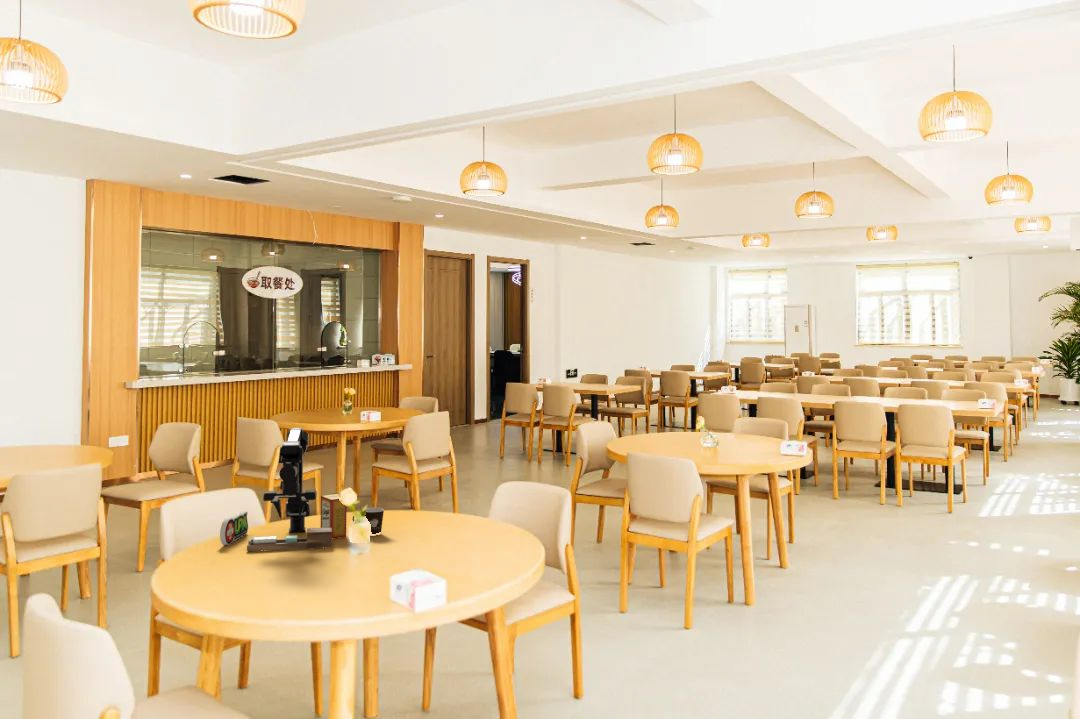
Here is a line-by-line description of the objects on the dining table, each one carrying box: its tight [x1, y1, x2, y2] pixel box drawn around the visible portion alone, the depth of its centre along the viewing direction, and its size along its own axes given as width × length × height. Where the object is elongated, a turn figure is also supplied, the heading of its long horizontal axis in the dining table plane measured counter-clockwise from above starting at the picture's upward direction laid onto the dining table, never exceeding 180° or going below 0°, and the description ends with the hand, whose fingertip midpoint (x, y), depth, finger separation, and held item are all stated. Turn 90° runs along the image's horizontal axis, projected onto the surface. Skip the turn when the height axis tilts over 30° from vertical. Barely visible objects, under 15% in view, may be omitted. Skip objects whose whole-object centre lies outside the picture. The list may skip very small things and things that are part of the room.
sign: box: [219, 511, 249, 546], centre depth 302 cm, size 22×2×10 cm, turn 179°
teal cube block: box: [285, 535, 299, 543], centre depth 293 cm, size 4×4×4 cm
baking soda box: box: [320, 493, 348, 539], centre depth 312 cm, size 10×6×16 cm
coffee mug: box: [352, 507, 385, 534], centre depth 315 cm, size 12×9×10 cm
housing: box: [246, 527, 333, 552], centre depth 293 cm, size 7×30×6 cm, turn 106°
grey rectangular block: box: [249, 535, 278, 545], centre depth 290 cm, size 4×9×4 cm, turn 106°
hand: (290, 518), depth 293 cm, fingers open, 6 cm apart
